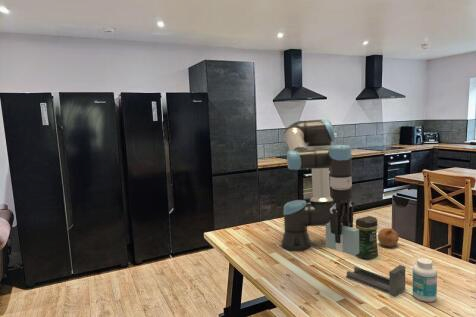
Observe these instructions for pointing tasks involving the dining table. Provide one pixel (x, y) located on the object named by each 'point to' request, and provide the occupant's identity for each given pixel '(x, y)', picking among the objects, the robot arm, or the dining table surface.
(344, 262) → the dining table surface
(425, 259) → the pill bottle
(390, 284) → the floor track
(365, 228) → the coffee jar
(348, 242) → the gray rectangular block
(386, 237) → the onion
